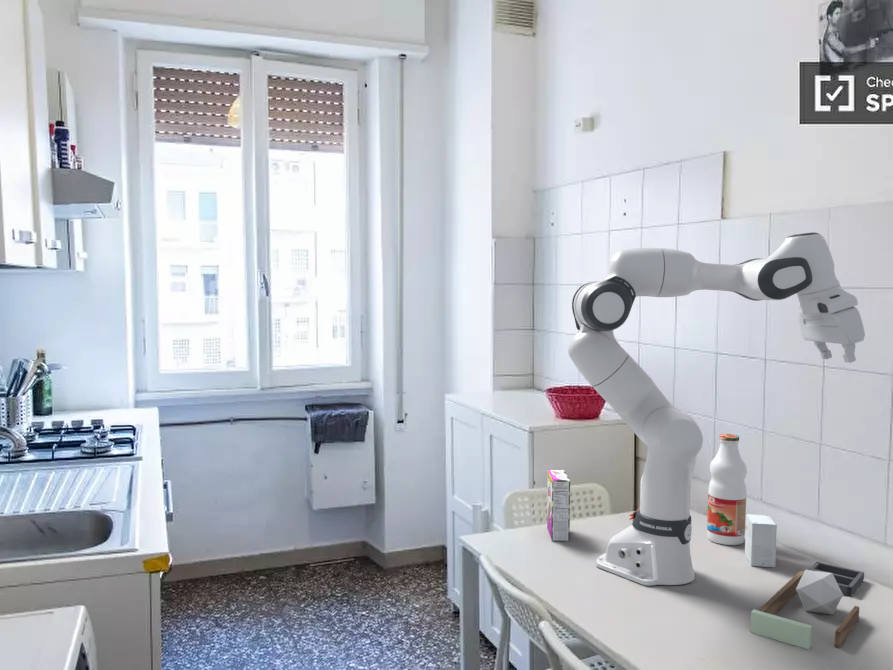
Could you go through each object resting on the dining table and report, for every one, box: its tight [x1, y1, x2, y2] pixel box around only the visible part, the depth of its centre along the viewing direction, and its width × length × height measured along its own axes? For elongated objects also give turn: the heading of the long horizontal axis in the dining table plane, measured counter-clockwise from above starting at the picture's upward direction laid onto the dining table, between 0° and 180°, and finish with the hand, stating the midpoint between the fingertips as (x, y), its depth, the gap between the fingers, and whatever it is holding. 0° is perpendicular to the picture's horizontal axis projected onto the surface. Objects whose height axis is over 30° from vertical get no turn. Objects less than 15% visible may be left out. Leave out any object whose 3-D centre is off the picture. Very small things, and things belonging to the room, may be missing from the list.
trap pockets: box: [808, 561, 865, 598], centre depth 169 cm, size 10×12×2 cm
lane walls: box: [757, 570, 860, 649], centre depth 152 cm, size 15×32×3 cm, turn 139°
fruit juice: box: [706, 433, 747, 546], centre depth 197 cm, size 9×9×28 cm
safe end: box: [749, 609, 813, 650], centre depth 141 cm, size 10×2×4 cm, turn 49°
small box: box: [744, 513, 777, 568], centre depth 182 cm, size 8×6×10 cm
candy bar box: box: [546, 469, 571, 542], centre depth 199 cm, size 11×5×16 cm, turn 179°
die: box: [796, 569, 844, 615], centre depth 154 cm, size 8×9×10 cm
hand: (838, 360), depth 169 cm, fingers open, 8 cm apart
